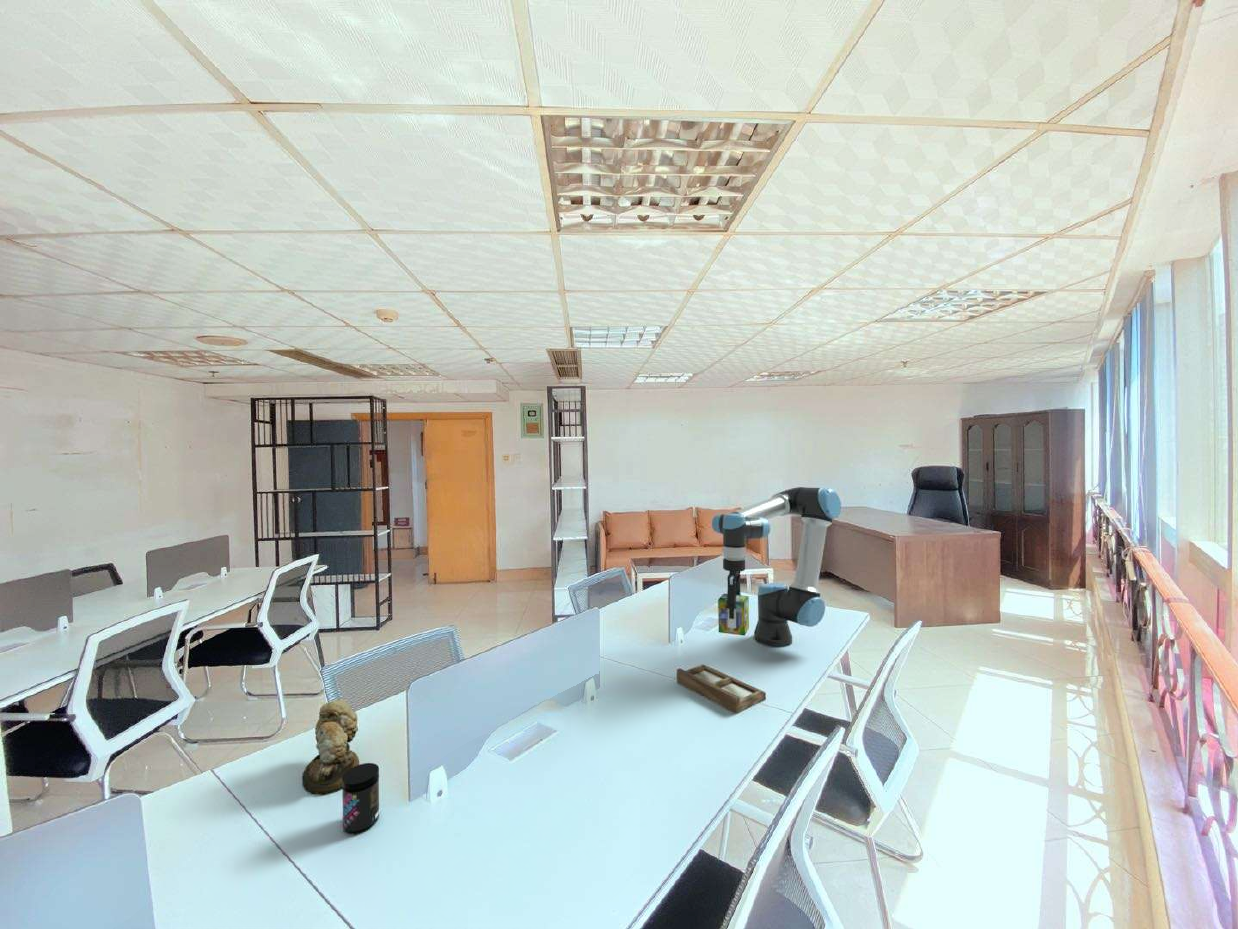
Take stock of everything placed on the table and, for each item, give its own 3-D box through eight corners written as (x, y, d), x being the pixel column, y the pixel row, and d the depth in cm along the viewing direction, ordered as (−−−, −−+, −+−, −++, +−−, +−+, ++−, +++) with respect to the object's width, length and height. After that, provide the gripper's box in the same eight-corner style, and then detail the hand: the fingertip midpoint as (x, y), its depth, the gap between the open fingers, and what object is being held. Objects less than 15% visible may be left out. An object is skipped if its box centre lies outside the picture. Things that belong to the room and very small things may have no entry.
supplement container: (347, 815, 101) (346, 766, 101) (382, 808, 103) (381, 760, 103) (338, 839, 95) (337, 787, 94) (376, 831, 97) (375, 780, 96)
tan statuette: (300, 763, 119) (300, 694, 119) (353, 746, 126) (353, 681, 126) (303, 804, 105) (303, 725, 105) (364, 783, 111) (364, 709, 112)
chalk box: (744, 637, 160) (744, 592, 160) (717, 632, 164) (717, 589, 164) (749, 628, 168) (749, 586, 168) (723, 624, 172) (723, 583, 172)
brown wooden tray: (705, 671, 169) (705, 658, 169) (765, 699, 149) (765, 685, 149) (676, 682, 160) (676, 669, 160) (736, 714, 140) (736, 698, 140)
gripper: (727, 552, 178) (727, 612, 178) (717, 563, 157) (717, 632, 157) (748, 553, 175) (748, 615, 175) (741, 565, 155) (741, 635, 155)
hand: (733, 623), depth 166 cm, fingers closed on chalk box, 9 cm apart
